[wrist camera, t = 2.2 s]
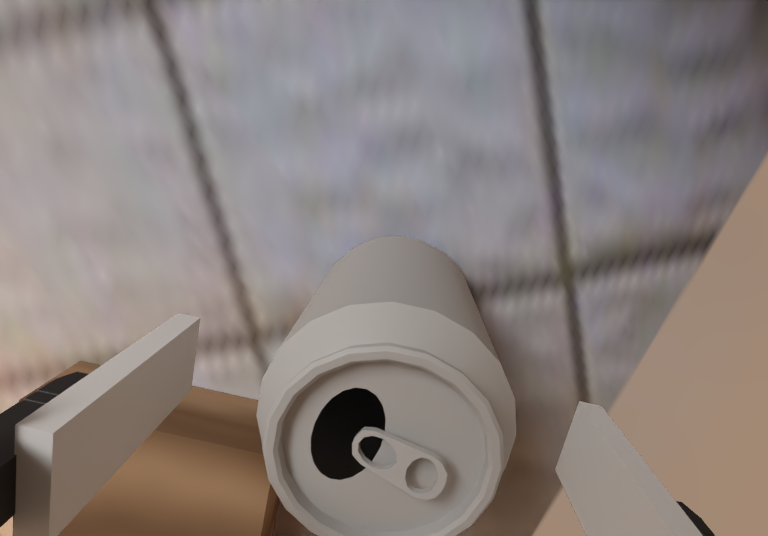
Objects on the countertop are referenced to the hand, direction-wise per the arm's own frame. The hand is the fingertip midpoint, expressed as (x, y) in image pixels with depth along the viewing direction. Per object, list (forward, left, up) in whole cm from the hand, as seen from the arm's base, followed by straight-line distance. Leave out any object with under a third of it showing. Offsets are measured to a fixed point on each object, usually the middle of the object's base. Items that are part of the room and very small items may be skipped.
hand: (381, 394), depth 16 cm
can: (0, 0, -8) cm, 8 cm away
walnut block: (+13, -10, -8) cm, 18 cm away
